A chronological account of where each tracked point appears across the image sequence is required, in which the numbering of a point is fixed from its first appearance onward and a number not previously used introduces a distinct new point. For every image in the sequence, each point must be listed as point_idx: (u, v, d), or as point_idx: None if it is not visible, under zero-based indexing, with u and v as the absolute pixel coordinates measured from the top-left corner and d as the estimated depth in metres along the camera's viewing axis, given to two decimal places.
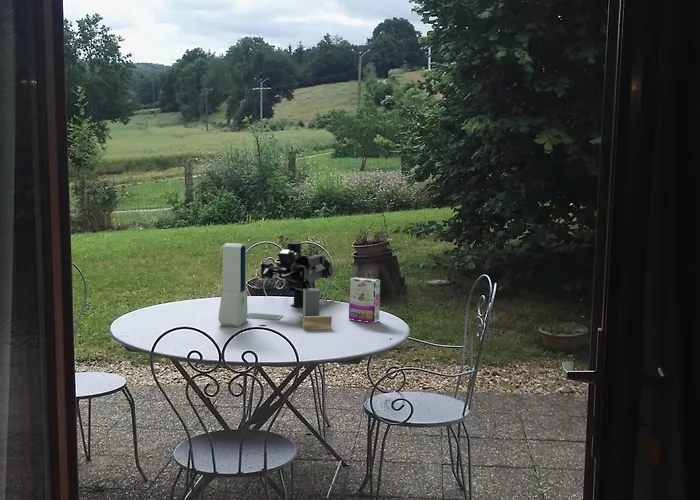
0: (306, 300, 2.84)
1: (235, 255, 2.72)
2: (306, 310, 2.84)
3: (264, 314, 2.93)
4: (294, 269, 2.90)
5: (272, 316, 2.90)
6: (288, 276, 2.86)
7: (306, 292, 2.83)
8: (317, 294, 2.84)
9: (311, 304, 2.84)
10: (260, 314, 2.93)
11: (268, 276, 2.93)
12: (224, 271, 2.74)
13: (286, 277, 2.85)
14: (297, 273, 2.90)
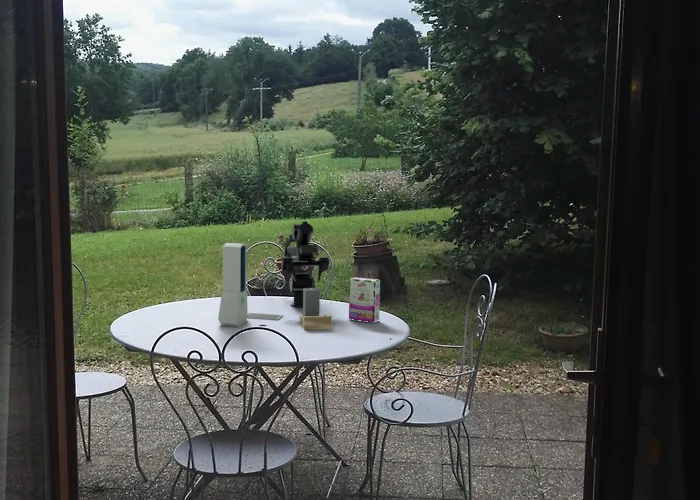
0: (306, 300, 2.84)
1: (235, 255, 2.72)
2: (306, 310, 2.84)
3: (264, 314, 2.93)
4: (321, 265, 2.97)
5: (272, 316, 2.90)
6: None
7: (306, 292, 2.83)
8: (317, 294, 2.84)
9: (311, 304, 2.84)
10: (260, 314, 2.93)
11: None
12: (224, 271, 2.74)
13: (319, 280, 2.95)
14: None
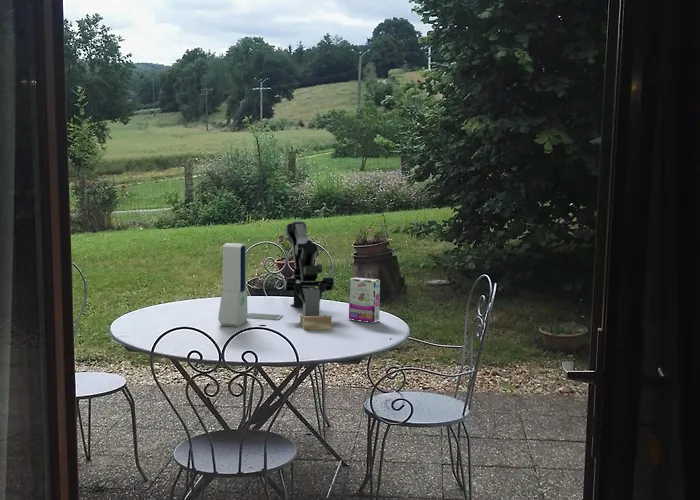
0: (306, 300, 2.84)
1: (235, 255, 2.72)
2: (306, 310, 2.84)
3: (264, 314, 2.93)
4: (321, 286, 2.89)
5: (272, 316, 2.90)
6: (320, 298, 2.88)
7: (306, 292, 2.83)
8: (317, 294, 2.84)
9: (311, 304, 2.84)
10: (260, 314, 2.93)
11: None
12: (224, 271, 2.74)
13: None
14: (323, 287, 2.90)
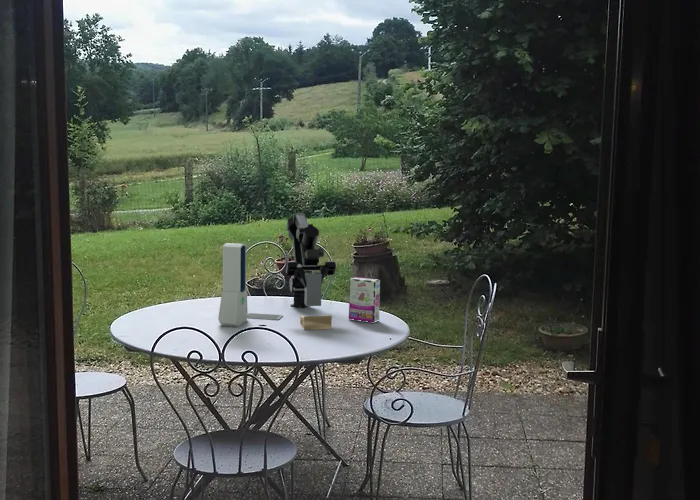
0: (308, 284, 2.80)
1: (235, 255, 2.72)
2: (308, 294, 2.80)
3: (264, 314, 2.93)
4: (323, 270, 2.85)
5: (272, 316, 2.90)
6: None
7: (308, 276, 2.79)
8: (319, 278, 2.80)
9: (313, 288, 2.80)
10: (260, 314, 2.93)
11: None
12: (224, 271, 2.74)
13: (321, 285, 2.83)
14: (324, 271, 2.87)
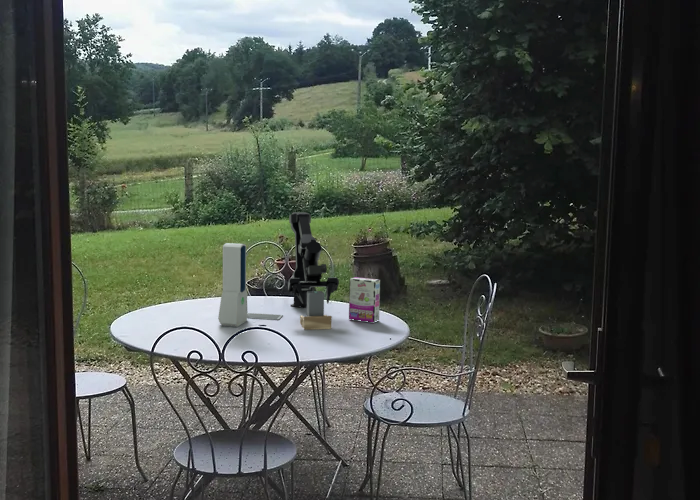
0: (310, 303, 2.75)
1: (235, 255, 2.72)
2: (310, 314, 2.76)
3: (264, 314, 2.93)
4: (330, 286, 2.80)
5: (272, 316, 2.90)
6: None
7: (310, 295, 2.75)
8: (322, 297, 2.76)
9: (315, 307, 2.76)
10: (260, 314, 2.93)
11: None
12: (224, 271, 2.74)
13: (328, 302, 2.79)
14: (331, 287, 2.82)
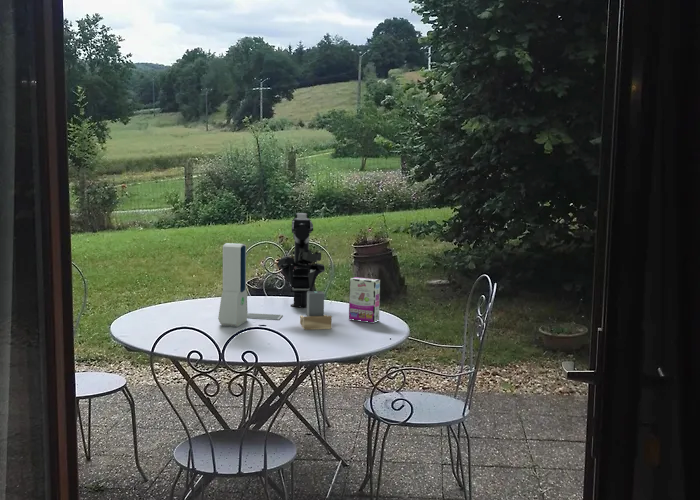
0: (310, 303, 2.75)
1: (235, 255, 2.72)
2: (310, 314, 2.76)
3: (264, 314, 2.93)
4: (316, 273, 2.94)
5: (272, 316, 2.90)
6: None
7: (310, 295, 2.75)
8: (322, 297, 2.76)
9: (315, 307, 2.76)
10: (260, 314, 2.93)
11: None
12: (224, 271, 2.74)
13: None
14: None
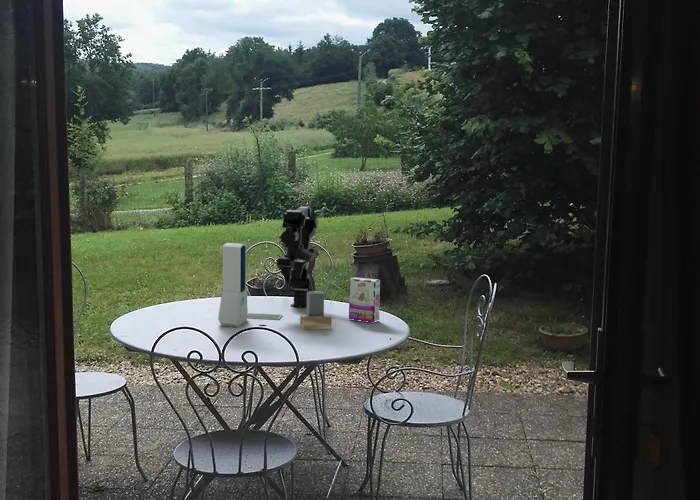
0: (310, 303, 2.75)
1: (235, 255, 2.72)
2: (310, 314, 2.76)
3: (263, 314, 2.93)
4: (304, 264, 3.01)
5: (272, 316, 2.90)
6: None
7: (310, 295, 2.75)
8: (322, 297, 2.76)
9: (315, 307, 2.76)
10: (259, 314, 2.93)
11: None
12: (224, 271, 2.74)
13: None
14: None
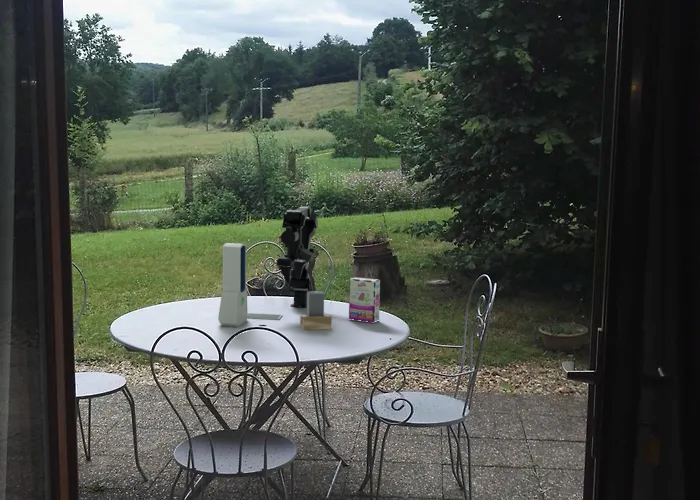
0: (310, 303, 2.75)
1: (235, 255, 2.73)
2: (310, 314, 2.76)
3: (263, 314, 2.93)
4: (304, 264, 3.01)
5: (272, 316, 2.90)
6: None
7: (310, 295, 2.75)
8: (322, 297, 2.76)
9: (315, 307, 2.76)
10: (259, 314, 2.93)
11: None
12: (224, 271, 2.74)
13: None
14: None
